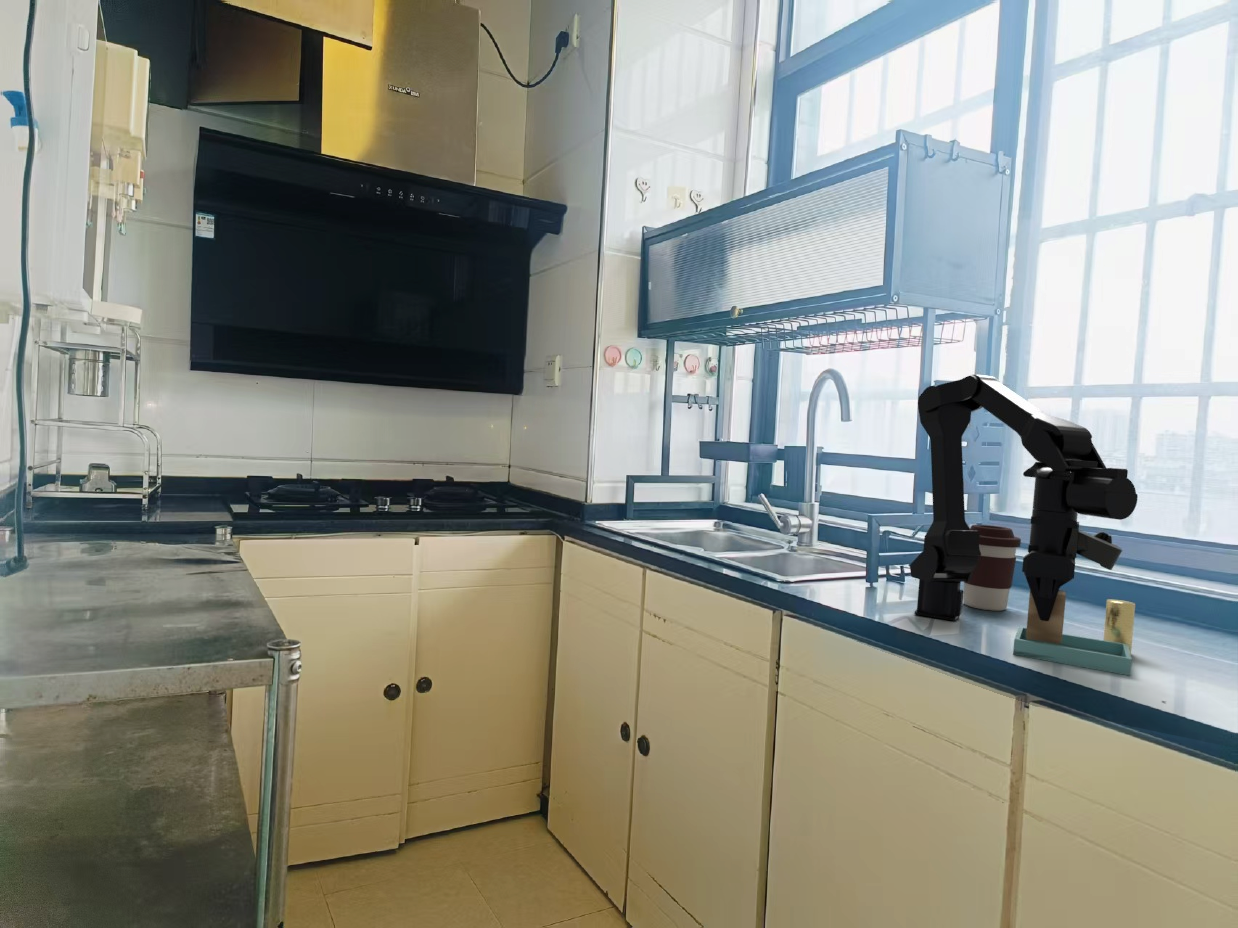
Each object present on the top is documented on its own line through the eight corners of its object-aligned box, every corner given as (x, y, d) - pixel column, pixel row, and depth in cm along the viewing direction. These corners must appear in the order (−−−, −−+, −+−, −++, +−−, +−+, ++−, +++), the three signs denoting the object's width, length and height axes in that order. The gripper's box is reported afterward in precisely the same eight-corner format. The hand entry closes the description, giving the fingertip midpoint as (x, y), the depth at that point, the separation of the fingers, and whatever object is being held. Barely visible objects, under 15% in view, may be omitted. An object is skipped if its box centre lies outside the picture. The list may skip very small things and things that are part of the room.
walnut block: (1025, 638, 112) (1030, 590, 112) (1027, 632, 116) (1031, 586, 116) (1061, 644, 110) (1065, 595, 110) (1062, 638, 114) (1066, 591, 114)
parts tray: (1013, 654, 111) (1014, 639, 111) (1017, 640, 119) (1019, 626, 119) (1130, 675, 104) (1131, 659, 104) (1126, 659, 112) (1127, 644, 112)
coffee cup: (964, 598, 152) (971, 522, 151) (1020, 608, 146) (1027, 528, 145) (949, 605, 144) (955, 524, 144) (1007, 615, 138) (1014, 531, 137)
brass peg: (1103, 651, 116) (1107, 601, 116) (1102, 646, 119) (1106, 598, 119) (1131, 656, 114) (1136, 605, 114) (1130, 651, 117) (1134, 602, 117)
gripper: (1124, 521, 100) (1113, 641, 101) (1118, 513, 116) (1108, 616, 117) (1027, 512, 106) (1017, 625, 107) (1033, 505, 122) (1025, 604, 123)
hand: (1045, 617), depth 113 cm, fingers closed on walnut block, 4 cm apart
